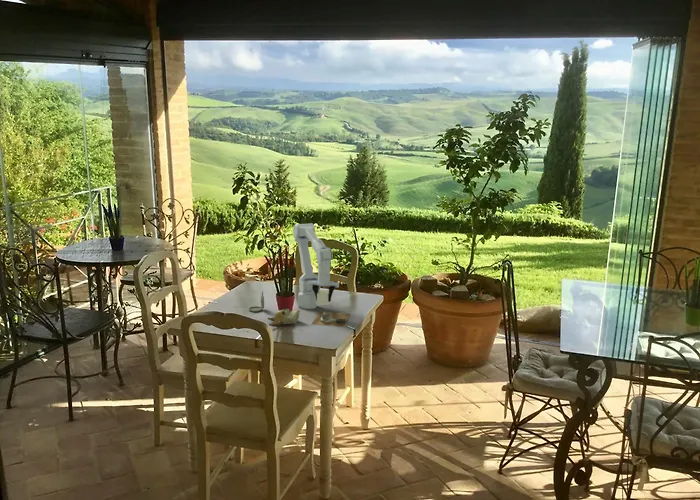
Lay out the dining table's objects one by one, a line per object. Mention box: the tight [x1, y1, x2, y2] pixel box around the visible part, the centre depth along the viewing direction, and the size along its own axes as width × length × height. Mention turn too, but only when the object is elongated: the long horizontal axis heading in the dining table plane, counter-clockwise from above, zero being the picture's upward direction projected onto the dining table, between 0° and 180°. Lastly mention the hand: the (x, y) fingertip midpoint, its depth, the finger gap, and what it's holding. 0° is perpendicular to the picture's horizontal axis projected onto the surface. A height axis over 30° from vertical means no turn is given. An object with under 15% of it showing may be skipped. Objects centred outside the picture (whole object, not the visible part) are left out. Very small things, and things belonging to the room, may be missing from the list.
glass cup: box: [248, 290, 265, 313], centre depth 291 cm, size 8×8×10 cm
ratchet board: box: [311, 311, 351, 328], centre depth 278 cm, size 16×19×6 cm
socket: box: [317, 289, 330, 306], centre depth 279 cm, size 5×5×6 cm
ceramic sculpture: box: [267, 307, 300, 327], centre depth 272 cm, size 11×9×15 cm
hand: (323, 300), depth 280 cm, fingers closed on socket, 5 cm apart
